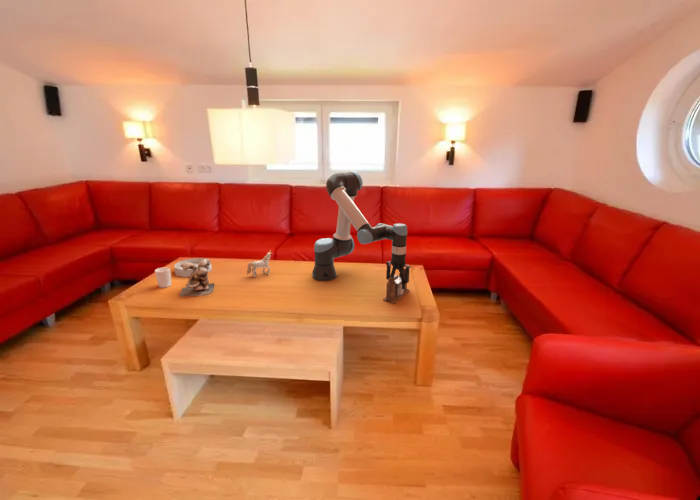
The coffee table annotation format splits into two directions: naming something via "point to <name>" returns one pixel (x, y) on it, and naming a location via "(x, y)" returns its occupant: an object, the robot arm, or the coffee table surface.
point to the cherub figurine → (197, 280)
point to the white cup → (163, 277)
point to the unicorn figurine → (259, 265)
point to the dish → (187, 273)
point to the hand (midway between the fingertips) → (396, 292)
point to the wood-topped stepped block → (397, 285)
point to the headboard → (391, 290)
